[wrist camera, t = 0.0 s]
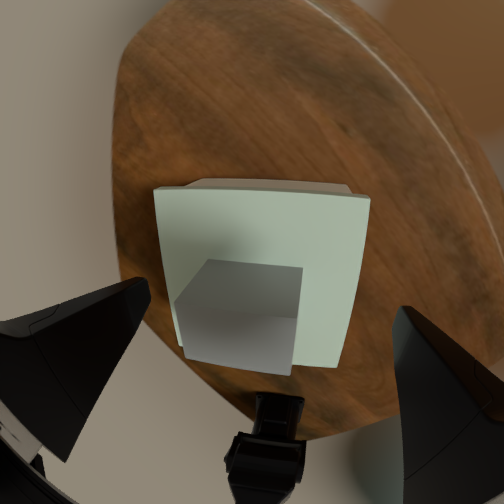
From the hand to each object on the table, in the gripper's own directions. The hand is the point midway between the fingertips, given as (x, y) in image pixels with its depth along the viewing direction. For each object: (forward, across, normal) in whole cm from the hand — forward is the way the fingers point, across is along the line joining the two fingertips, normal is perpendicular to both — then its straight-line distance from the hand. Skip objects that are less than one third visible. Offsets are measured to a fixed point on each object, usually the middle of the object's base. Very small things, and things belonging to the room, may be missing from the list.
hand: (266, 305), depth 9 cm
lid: (+8, +2, +4) cm, 10 cm away
